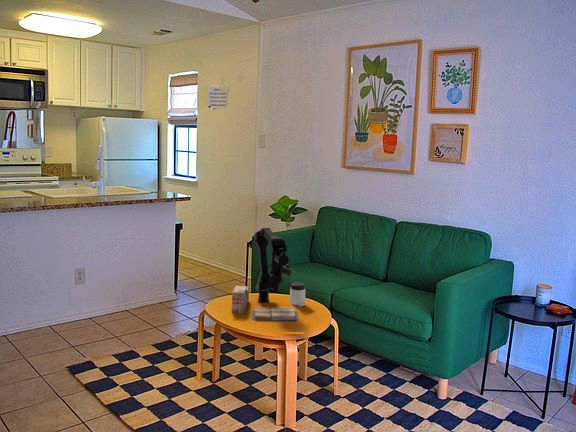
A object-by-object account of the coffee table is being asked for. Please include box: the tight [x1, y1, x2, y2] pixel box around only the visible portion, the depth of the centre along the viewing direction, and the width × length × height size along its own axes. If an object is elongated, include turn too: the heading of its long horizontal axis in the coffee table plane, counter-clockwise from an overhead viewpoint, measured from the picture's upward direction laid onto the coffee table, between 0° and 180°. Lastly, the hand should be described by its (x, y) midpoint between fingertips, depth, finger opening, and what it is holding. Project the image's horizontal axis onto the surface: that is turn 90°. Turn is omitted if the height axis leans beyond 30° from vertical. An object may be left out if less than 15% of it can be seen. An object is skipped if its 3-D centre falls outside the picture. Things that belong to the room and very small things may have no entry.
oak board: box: [254, 306, 271, 320], centre depth 285 cm, size 14×8×2 cm, turn 3°
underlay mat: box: [251, 309, 300, 323], centre depth 285 cm, size 16×24×1 cm, turn 93°
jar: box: [289, 281, 307, 308], centre depth 308 cm, size 9×8×12 cm
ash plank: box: [270, 306, 295, 320], centre depth 285 cm, size 14×12×2 cm
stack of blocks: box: [231, 285, 250, 314], centre depth 297 cm, size 21×6×12 cm, turn 176°
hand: (275, 289), depth 293 cm, fingers open, 9 cm apart
